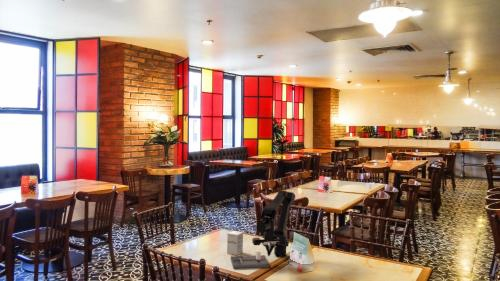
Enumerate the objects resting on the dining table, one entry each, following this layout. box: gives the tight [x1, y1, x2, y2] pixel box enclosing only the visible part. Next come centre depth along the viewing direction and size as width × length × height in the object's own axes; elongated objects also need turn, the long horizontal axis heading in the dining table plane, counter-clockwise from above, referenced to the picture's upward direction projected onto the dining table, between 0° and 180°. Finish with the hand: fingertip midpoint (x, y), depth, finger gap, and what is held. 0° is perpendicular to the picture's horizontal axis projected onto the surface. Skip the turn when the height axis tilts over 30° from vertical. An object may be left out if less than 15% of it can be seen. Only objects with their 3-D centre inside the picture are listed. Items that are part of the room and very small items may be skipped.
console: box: [230, 254, 270, 270], centre depth 220 cm, size 20×14×2 cm
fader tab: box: [255, 249, 262, 260], centre depth 220 cm, size 2×4×5 cm, turn 9°
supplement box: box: [226, 230, 244, 256], centre depth 237 cm, size 7×7×13 cm
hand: (268, 255), depth 221 cm, fingers closed
